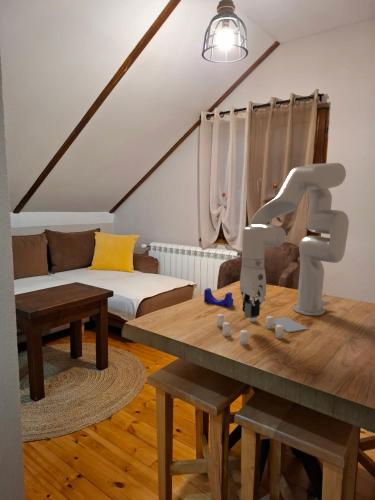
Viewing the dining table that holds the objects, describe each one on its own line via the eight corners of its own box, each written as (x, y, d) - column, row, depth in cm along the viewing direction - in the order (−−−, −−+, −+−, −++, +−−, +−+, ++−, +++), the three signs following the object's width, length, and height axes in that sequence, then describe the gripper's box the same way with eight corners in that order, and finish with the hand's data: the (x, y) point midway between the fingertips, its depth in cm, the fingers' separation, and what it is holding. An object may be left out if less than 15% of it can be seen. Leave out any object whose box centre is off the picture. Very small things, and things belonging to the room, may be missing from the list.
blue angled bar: (233, 305, 151) (233, 292, 150) (228, 308, 147) (228, 294, 146) (209, 300, 157) (209, 287, 156) (204, 302, 153) (204, 289, 152)
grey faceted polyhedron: (253, 312, 125) (253, 299, 124) (260, 316, 121) (261, 303, 120) (241, 314, 123) (241, 301, 122) (247, 318, 119) (248, 305, 118)
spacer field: (257, 318, 135) (258, 308, 134) (289, 337, 118) (290, 326, 117) (210, 325, 127) (211, 314, 126) (237, 346, 110) (237, 334, 109)
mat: (286, 318, 136) (286, 317, 136) (308, 329, 125) (308, 328, 125) (267, 320, 132) (267, 319, 132) (288, 332, 122) (288, 331, 121)
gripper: (277, 267, 112) (274, 320, 115) (248, 257, 127) (246, 304, 131) (257, 269, 109) (255, 323, 112) (230, 258, 124) (229, 307, 128)
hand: (250, 312), depth 121 cm, fingers closed on grey faceted polyhedron, 4 cm apart
